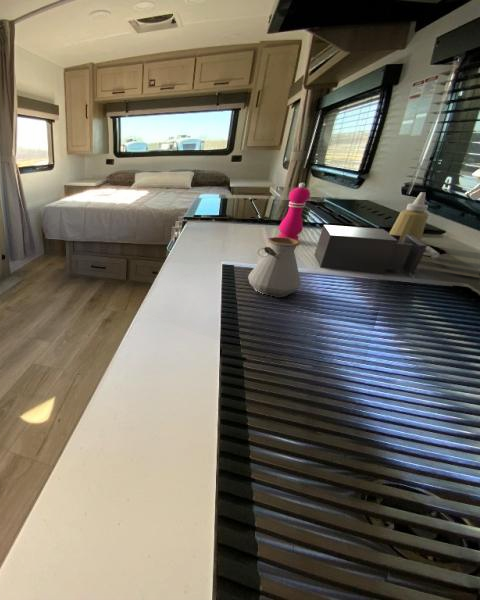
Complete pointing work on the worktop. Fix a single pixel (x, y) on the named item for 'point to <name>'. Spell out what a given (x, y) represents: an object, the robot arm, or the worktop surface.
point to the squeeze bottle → (411, 219)
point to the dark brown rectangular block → (355, 249)
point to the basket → (409, 254)
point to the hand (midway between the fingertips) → (468, 197)
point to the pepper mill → (294, 213)
